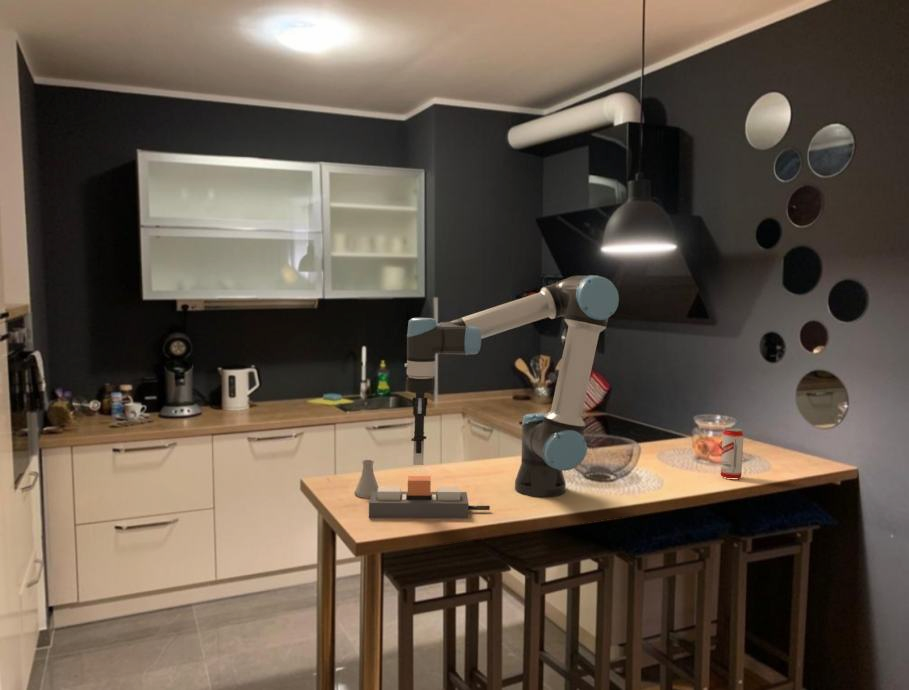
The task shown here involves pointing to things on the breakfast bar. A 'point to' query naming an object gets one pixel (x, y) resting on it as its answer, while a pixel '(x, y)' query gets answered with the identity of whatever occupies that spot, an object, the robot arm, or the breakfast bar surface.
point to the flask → (366, 480)
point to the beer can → (732, 453)
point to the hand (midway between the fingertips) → (418, 464)
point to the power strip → (421, 507)
